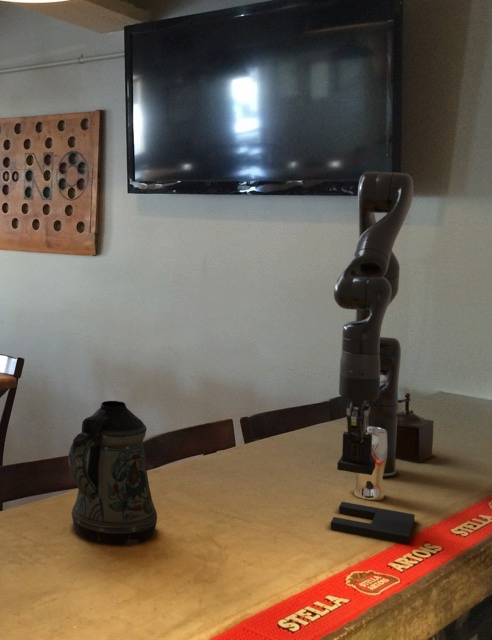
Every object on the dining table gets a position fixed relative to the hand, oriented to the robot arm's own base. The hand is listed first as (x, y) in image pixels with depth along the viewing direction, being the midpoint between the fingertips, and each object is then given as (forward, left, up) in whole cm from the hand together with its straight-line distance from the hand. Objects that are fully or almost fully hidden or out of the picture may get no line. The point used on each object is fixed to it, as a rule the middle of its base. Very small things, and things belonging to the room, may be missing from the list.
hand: (356, 458), depth 164 cm
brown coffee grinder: (-61, +2, -13) cm, 62 cm away
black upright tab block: (0, 0, -2) cm, 2 cm away
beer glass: (-19, 0, -13) cm, 23 cm away
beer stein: (+32, -40, -13) cm, 53 cm away
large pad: (0, +3, -13) cm, 14 cm away
